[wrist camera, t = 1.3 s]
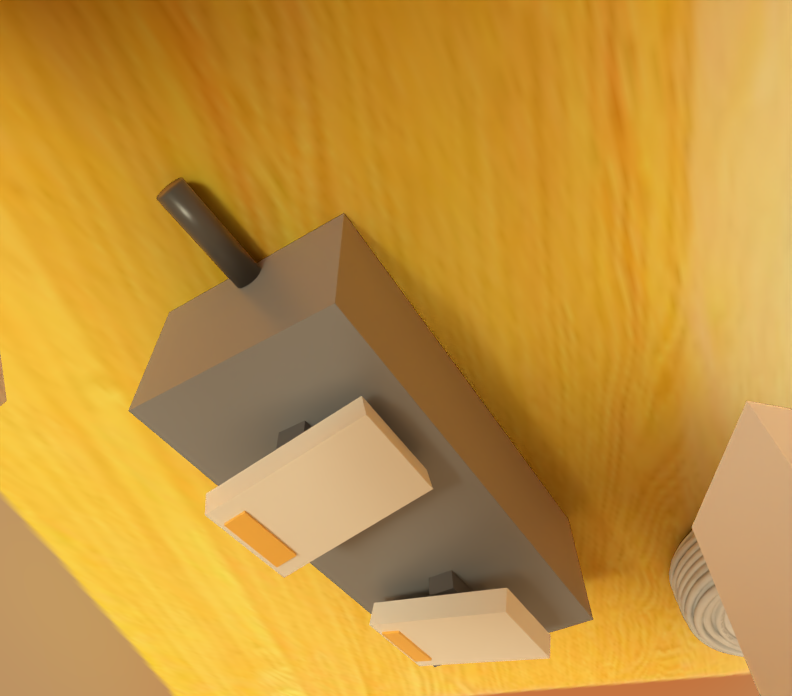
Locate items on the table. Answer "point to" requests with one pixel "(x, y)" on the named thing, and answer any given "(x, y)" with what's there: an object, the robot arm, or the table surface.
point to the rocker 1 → (319, 489)
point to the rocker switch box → (337, 387)
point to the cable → (701, 598)
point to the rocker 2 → (462, 628)
